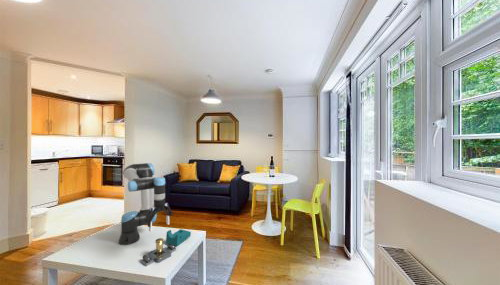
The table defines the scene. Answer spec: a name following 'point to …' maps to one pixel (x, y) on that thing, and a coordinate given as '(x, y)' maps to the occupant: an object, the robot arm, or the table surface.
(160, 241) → the pin
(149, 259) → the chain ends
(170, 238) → the teal notched block
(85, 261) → the table surface
